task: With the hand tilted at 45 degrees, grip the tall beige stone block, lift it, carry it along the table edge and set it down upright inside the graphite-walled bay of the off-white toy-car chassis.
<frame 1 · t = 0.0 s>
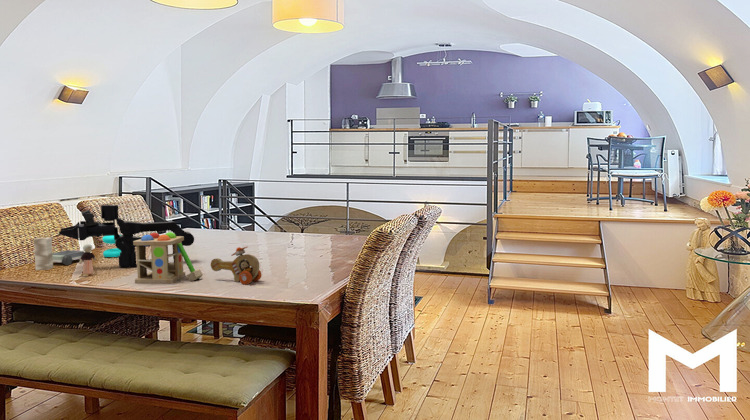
hand: (59, 231, 242), 17 cm above the table, tool horizontal, fingers open, 9 cm apart
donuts: (114, 256, 281), on the table
grandmother figurine: (89, 275, 235), on the table
chassis: (67, 262, 265), on the table
pounding bench toy: (171, 280, 226), on the table
toy helicopter: (237, 282, 222), on the table
beige stone block: (44, 268, 250), on the table
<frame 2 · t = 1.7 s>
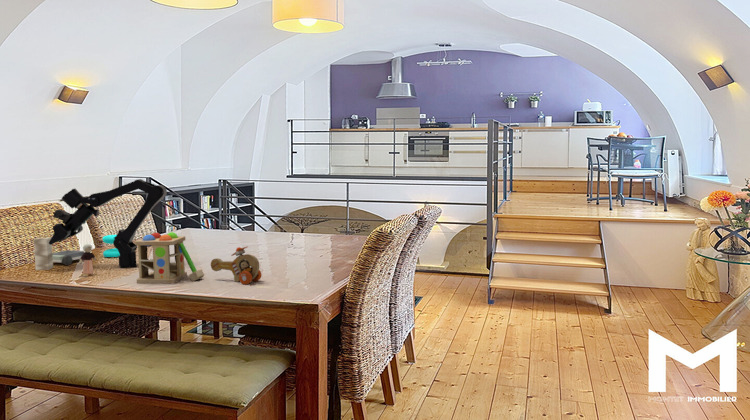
hand: (54, 242, 249), 11 cm above the table, tool tilted 45°, fingers open, 9 cm apart
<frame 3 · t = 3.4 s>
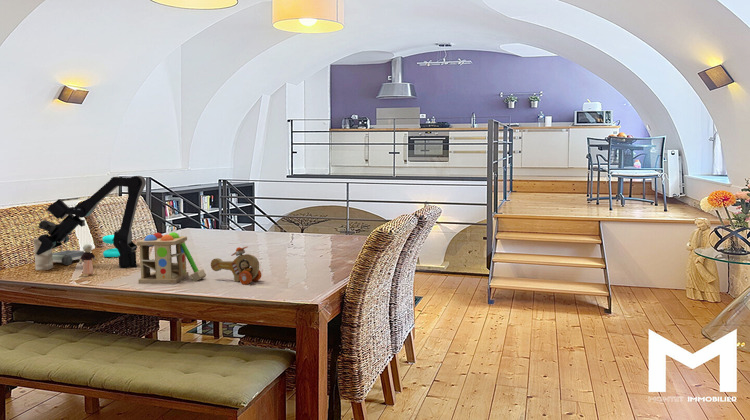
hand: (40, 253, 249), 7 cm above the table, tool tilted 45°, fingers closed on beige stone block, 5 cm apart
beige stone block: (44, 268, 250), on the table, touching gripper
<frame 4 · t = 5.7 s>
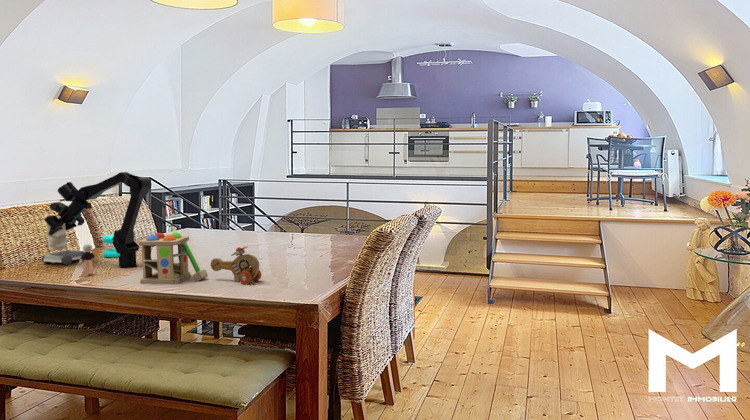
hand: (54, 233, 259), 13 cm above the table, tool tilted 45°, fingers closed on beige stone block, 5 cm apart
beige stone block: (57, 249, 260), point 7 cm above the table, touching gripper
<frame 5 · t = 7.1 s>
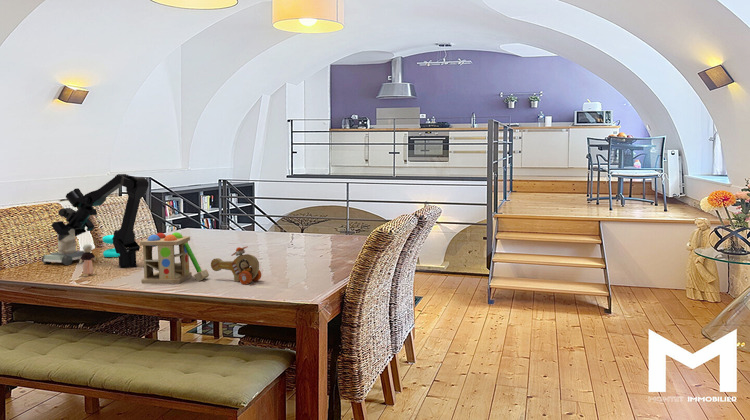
hand: (64, 239, 265), 10 cm above the table, tool tilted 45°, fingers closed on beige stone block, 5 cm apart
beige stone block: (67, 253, 265), point 4 cm above the table, touching gripper
when the fingers open (10 cm above the table, at t = 8.0 s): beige stone block drops 1 cm, resting on chassis.
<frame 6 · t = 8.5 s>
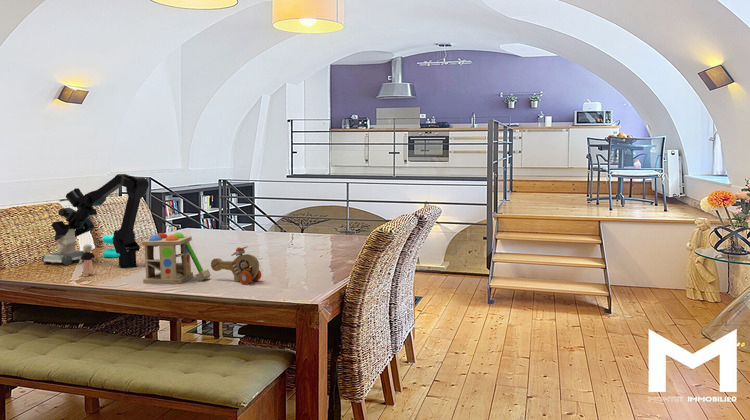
hand: (64, 238, 265), 11 cm above the table, tool tilted 45°, fingers open, 9 cm apart
beige stone block: (67, 256, 265), point 3 cm above the table, touching chassis
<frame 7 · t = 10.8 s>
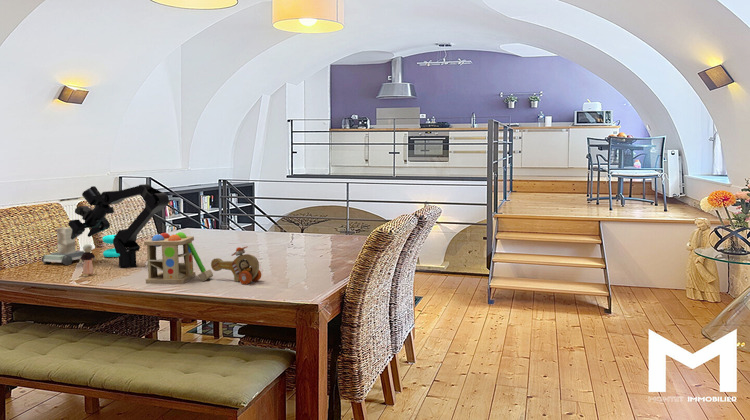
hand: (80, 237, 262), 12 cm above the table, tool tilted 45°, fingers open, 9 cm apart
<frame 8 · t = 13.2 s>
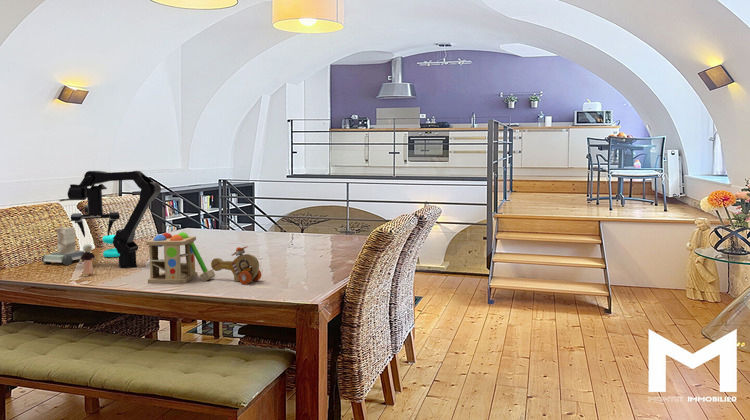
hand: (96, 236, 253), 13 cm above the table, tool pointing down, fingers open, 9 cm apart
at the end: beige stone block 0.1 cm off-centre on the chassis, point 2.5 cm above the chassis's base; beige stone block tilted 0°; the gripper is holding nothing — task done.
